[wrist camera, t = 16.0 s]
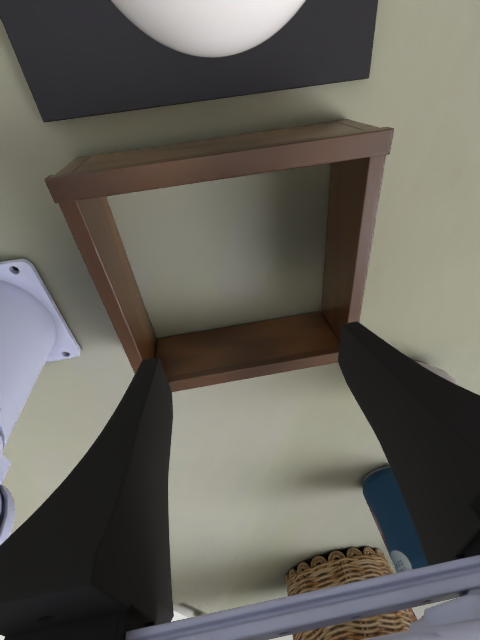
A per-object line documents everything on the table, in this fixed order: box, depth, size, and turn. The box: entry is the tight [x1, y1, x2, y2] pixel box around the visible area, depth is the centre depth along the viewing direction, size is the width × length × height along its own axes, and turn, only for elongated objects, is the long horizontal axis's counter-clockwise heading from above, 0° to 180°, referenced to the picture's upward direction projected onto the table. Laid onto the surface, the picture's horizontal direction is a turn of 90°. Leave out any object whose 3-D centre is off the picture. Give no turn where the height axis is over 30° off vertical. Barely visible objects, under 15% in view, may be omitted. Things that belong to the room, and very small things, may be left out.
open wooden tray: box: [45, 119, 394, 392], centre depth 19 cm, size 15×14×5 cm
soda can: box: [363, 466, 428, 573], centre depth 40 cm, size 7×7×12 cm
